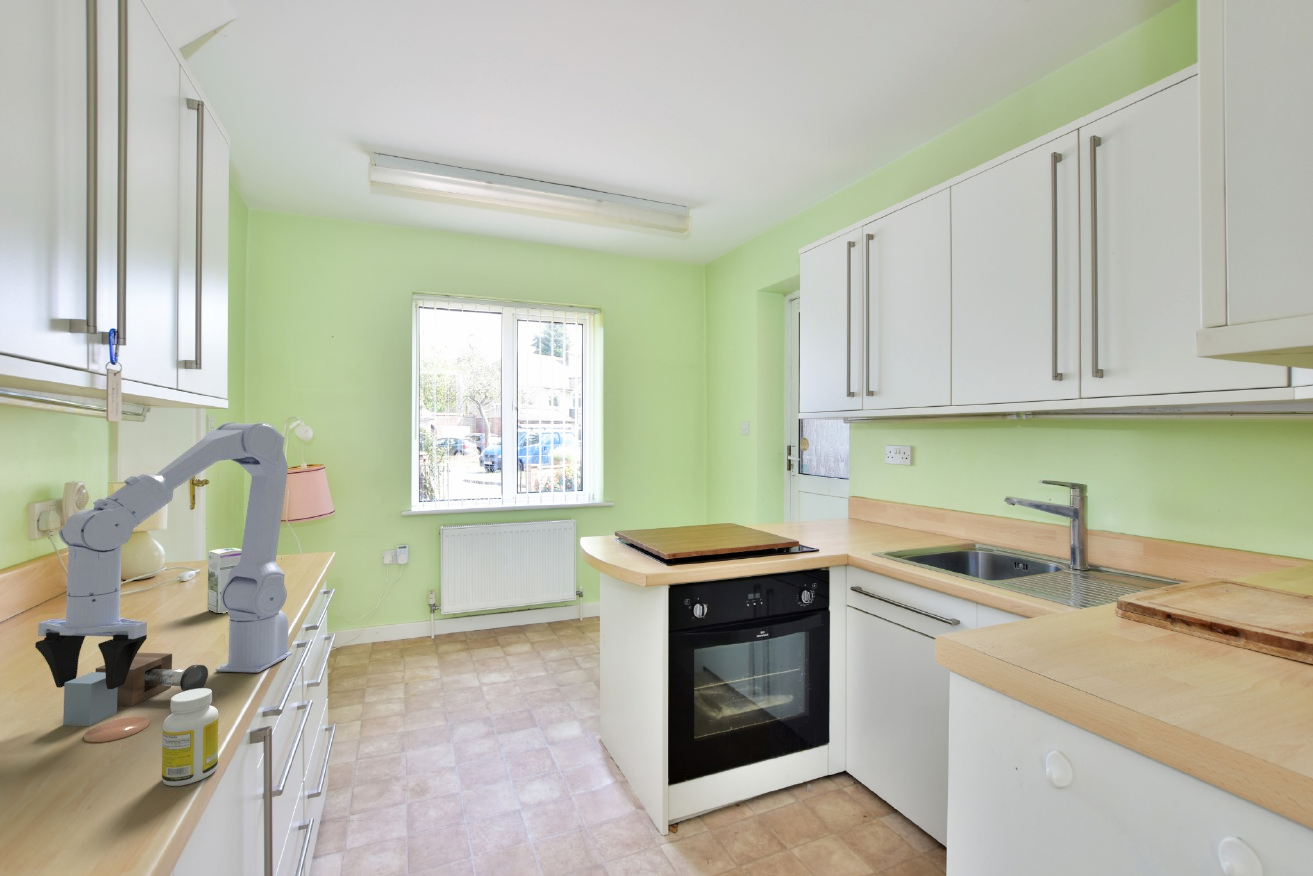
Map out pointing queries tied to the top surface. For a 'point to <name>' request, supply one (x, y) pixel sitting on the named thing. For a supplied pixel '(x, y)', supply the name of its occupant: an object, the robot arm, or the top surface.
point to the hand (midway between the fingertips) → (90, 685)
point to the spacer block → (88, 700)
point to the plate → (116, 729)
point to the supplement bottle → (190, 738)
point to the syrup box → (220, 574)
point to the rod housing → (141, 678)
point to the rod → (178, 677)
